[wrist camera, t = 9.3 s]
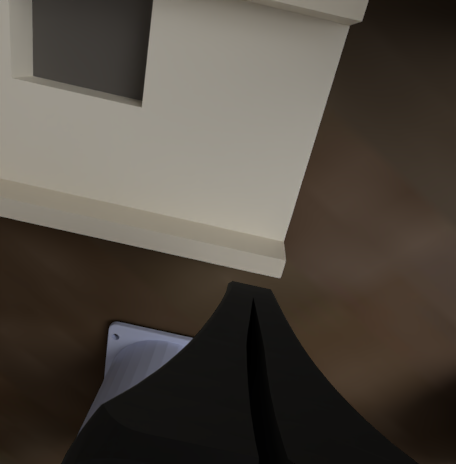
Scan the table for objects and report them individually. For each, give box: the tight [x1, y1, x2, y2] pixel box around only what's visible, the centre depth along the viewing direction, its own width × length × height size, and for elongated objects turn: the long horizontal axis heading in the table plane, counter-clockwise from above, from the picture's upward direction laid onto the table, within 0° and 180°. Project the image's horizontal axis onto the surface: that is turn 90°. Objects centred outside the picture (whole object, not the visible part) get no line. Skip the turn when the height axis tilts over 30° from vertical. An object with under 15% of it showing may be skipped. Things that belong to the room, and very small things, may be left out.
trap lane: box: [0, 0, 369, 278], centre depth 17 cm, size 12×28×4 cm, turn 78°
